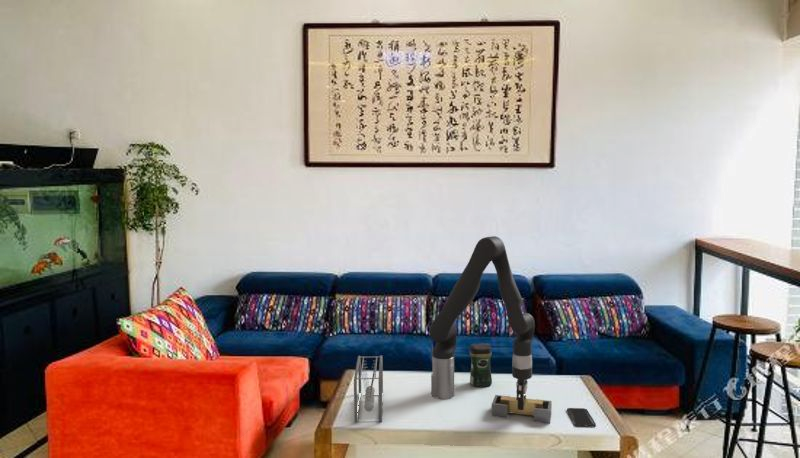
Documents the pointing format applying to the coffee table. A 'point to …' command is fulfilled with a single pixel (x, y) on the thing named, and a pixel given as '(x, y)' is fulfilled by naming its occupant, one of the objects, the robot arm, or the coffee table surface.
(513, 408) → the link bar
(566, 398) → the coffee table surface
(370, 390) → the newton's cradle
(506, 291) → the robot arm
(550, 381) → the coffee table surface
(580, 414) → the phone
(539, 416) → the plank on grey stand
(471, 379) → the coffee jar
